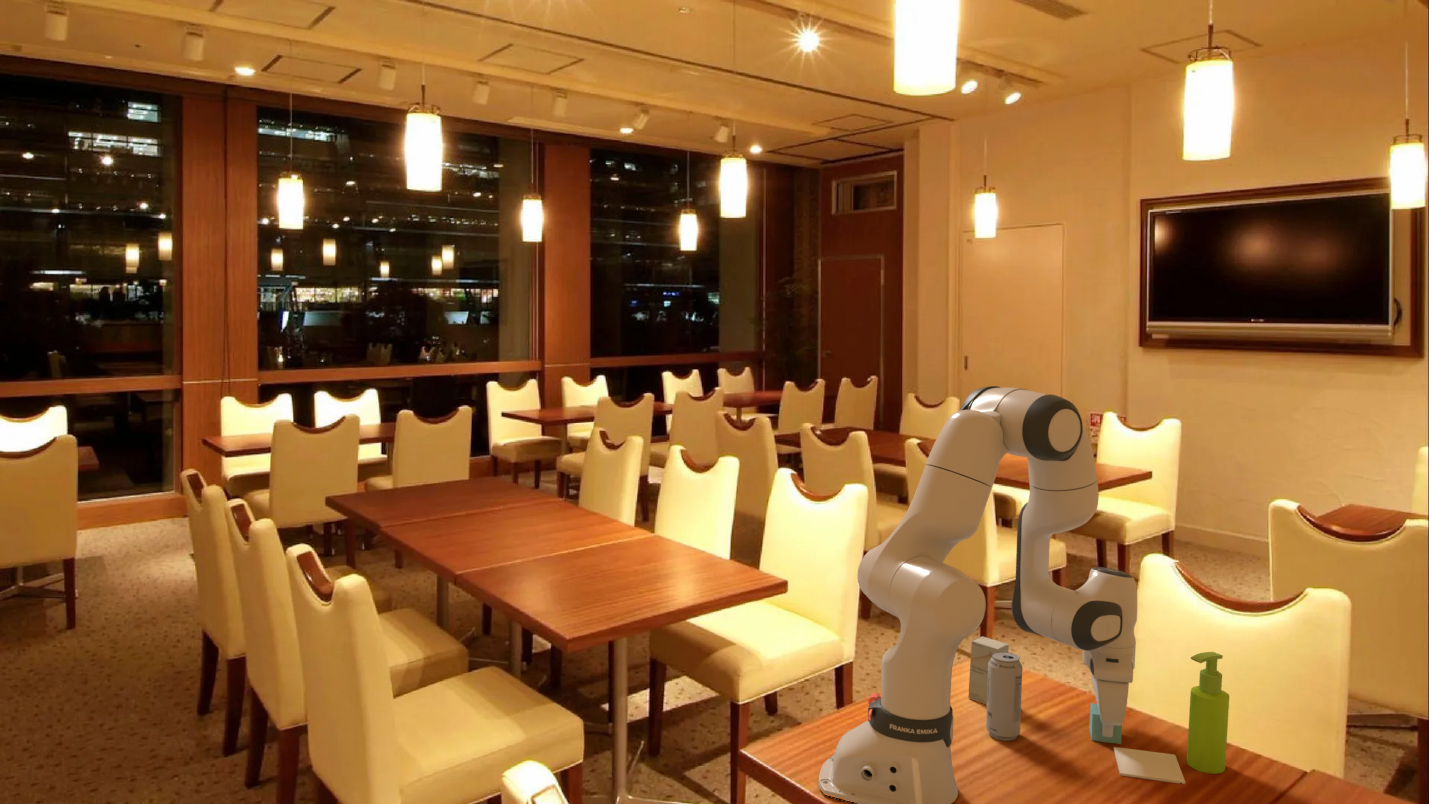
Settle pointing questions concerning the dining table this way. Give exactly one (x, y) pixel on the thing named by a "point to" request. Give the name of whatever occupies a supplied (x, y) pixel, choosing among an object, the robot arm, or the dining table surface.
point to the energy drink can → (1004, 696)
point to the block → (1097, 728)
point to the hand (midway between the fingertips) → (1105, 727)
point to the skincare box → (982, 666)
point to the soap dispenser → (1208, 718)
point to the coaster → (1148, 765)
